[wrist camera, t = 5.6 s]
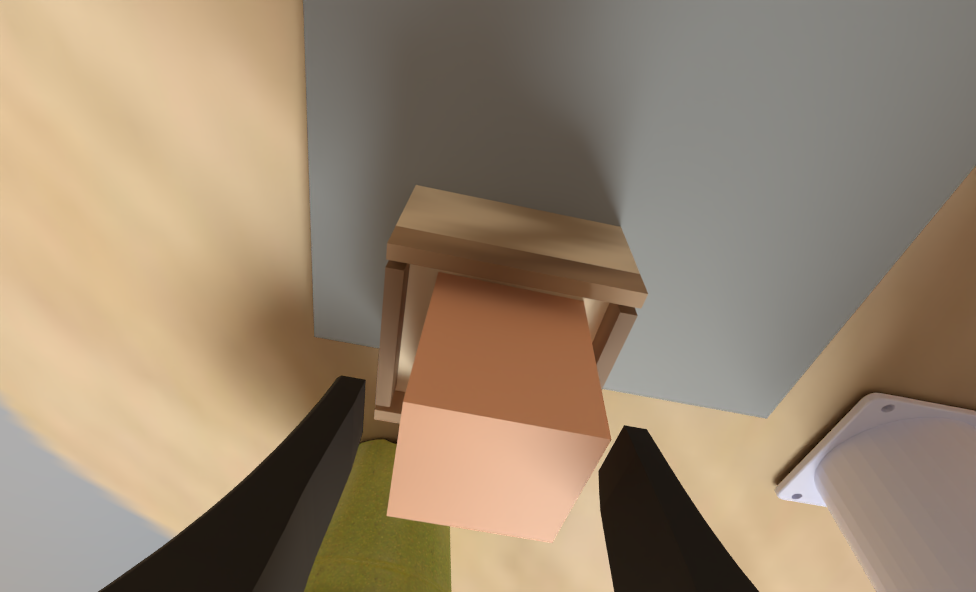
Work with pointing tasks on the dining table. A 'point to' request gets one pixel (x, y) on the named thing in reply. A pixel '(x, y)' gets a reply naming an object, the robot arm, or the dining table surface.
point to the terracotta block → (499, 412)
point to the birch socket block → (499, 274)
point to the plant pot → (378, 537)
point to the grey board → (651, 157)
